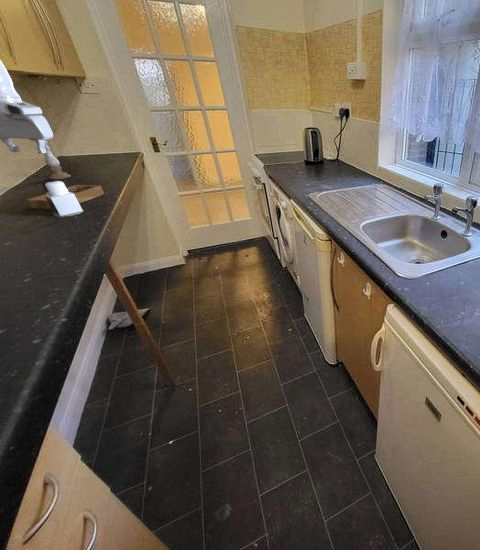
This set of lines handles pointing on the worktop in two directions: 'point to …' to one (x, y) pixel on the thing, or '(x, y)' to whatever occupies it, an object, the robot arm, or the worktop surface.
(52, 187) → the medicine bottle
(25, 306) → the worktop surface
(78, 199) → the tray
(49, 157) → the candle holder
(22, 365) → the worktop surface
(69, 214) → the mat
